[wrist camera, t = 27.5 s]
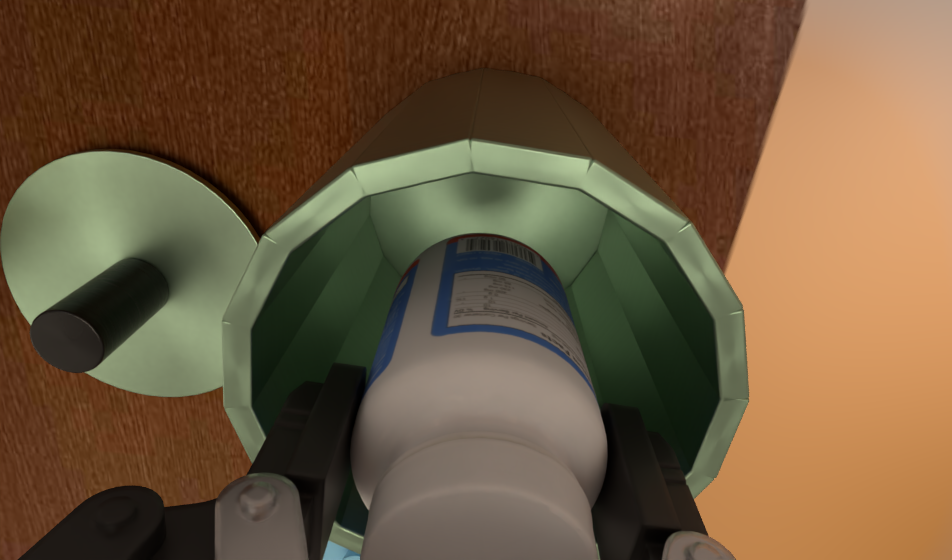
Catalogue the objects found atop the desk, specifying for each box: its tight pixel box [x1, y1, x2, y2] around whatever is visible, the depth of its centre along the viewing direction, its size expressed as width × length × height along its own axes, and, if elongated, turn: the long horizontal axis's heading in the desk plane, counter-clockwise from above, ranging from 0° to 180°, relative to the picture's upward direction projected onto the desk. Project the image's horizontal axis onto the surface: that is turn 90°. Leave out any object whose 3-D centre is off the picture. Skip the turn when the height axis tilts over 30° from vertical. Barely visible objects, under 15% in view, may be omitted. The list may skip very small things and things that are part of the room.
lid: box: [0, 149, 260, 397], centre depth 27 cm, size 13×13×7 cm
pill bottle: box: [350, 233, 608, 560], centre depth 14 cm, size 6×5×10 cm
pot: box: [221, 68, 749, 560], centre depth 21 cm, size 12×12×16 cm
